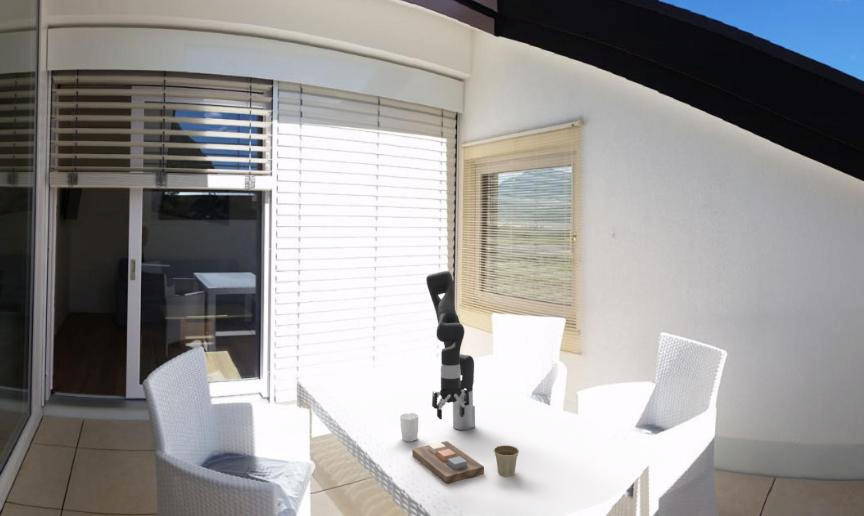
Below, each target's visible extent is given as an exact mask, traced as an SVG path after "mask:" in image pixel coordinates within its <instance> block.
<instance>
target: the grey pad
mask: <svg viewBox="0 0 864 516" xmlns="http://www.w3.org/2000/svg"><path fill="white" fill-rule="evenodd" d="M448 466H449V467H451V468H452V469H453V470H457V469H461V468H465V467H467V461H466V460H464V459H463V458H462V457H460V456H458V457H454V458H450V459H448Z"/></svg>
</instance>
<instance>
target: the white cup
mask: <svg viewBox="0 0 864 516" xmlns="http://www.w3.org/2000/svg"><path fill="white" fill-rule="evenodd" d="M399 418H400V430H401V431H400V432H401V439H402V441H404V440H405V442H414V440H415V441H417V440H418V439H417V438H418V433H419V414H418V413H414V412H407V413H402V414H401V415H400V417H399ZM416 439H417V440H416Z"/></svg>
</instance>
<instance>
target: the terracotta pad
mask: <svg viewBox="0 0 864 516" xmlns="http://www.w3.org/2000/svg"><path fill="white" fill-rule="evenodd" d="M454 457H456V453H455V452H453V451H452V450H450V449H446V450H441V451H438V458H439V459H440V460H442V461H443V462H446V461H448V459H450V458H454Z"/></svg>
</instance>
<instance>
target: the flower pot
mask: <svg viewBox="0 0 864 516" xmlns="http://www.w3.org/2000/svg"><path fill="white" fill-rule="evenodd" d="M493 453H494V456H495V459H496V467H497V473H498V474H499V475H500V476H504V477H510V476H514V475H515V474H516V466H517V460H518V459H517V458H518V455H519V453H520V450H519V448H517V447H515V446H513V445H509V444H508V445H507V444H505V445H499V446H495V447H494V448H493Z"/></svg>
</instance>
